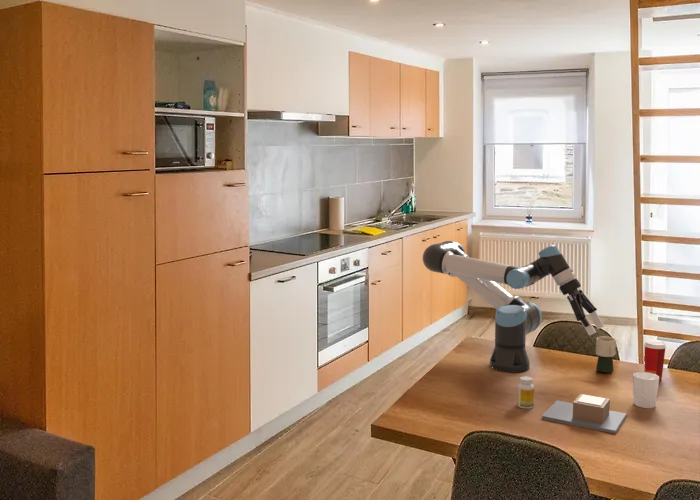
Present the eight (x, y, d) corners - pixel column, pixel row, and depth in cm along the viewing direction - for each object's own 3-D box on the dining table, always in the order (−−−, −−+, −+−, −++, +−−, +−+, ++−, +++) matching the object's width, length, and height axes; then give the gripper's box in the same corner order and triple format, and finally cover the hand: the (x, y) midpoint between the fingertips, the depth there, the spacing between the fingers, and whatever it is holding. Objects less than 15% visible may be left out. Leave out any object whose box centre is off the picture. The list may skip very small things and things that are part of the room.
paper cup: (660, 376, 254) (662, 339, 252) (667, 383, 246) (669, 345, 244) (638, 375, 254) (640, 339, 252) (645, 382, 247) (647, 345, 245)
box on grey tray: (541, 418, 213) (542, 399, 213) (556, 403, 227) (557, 385, 226) (615, 433, 202) (616, 413, 201) (626, 416, 215) (627, 397, 214)
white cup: (627, 400, 229) (628, 372, 227) (649, 400, 229) (651, 371, 228) (639, 409, 221) (640, 379, 219) (662, 408, 221) (664, 379, 220)
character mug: (620, 375, 254) (622, 342, 253) (602, 376, 254) (604, 342, 252) (606, 367, 265) (608, 334, 263) (589, 367, 264) (590, 335, 263)
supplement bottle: (513, 404, 226) (514, 377, 224) (526, 402, 228) (527, 374, 227) (524, 410, 221) (525, 381, 220) (537, 407, 223) (538, 379, 222)
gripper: (567, 281, 250) (598, 332, 245) (583, 273, 271) (612, 320, 266) (549, 290, 254) (580, 341, 249) (567, 282, 275) (595, 329, 270)
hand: (597, 330), depth 258 cm, fingers open, 13 cm apart
